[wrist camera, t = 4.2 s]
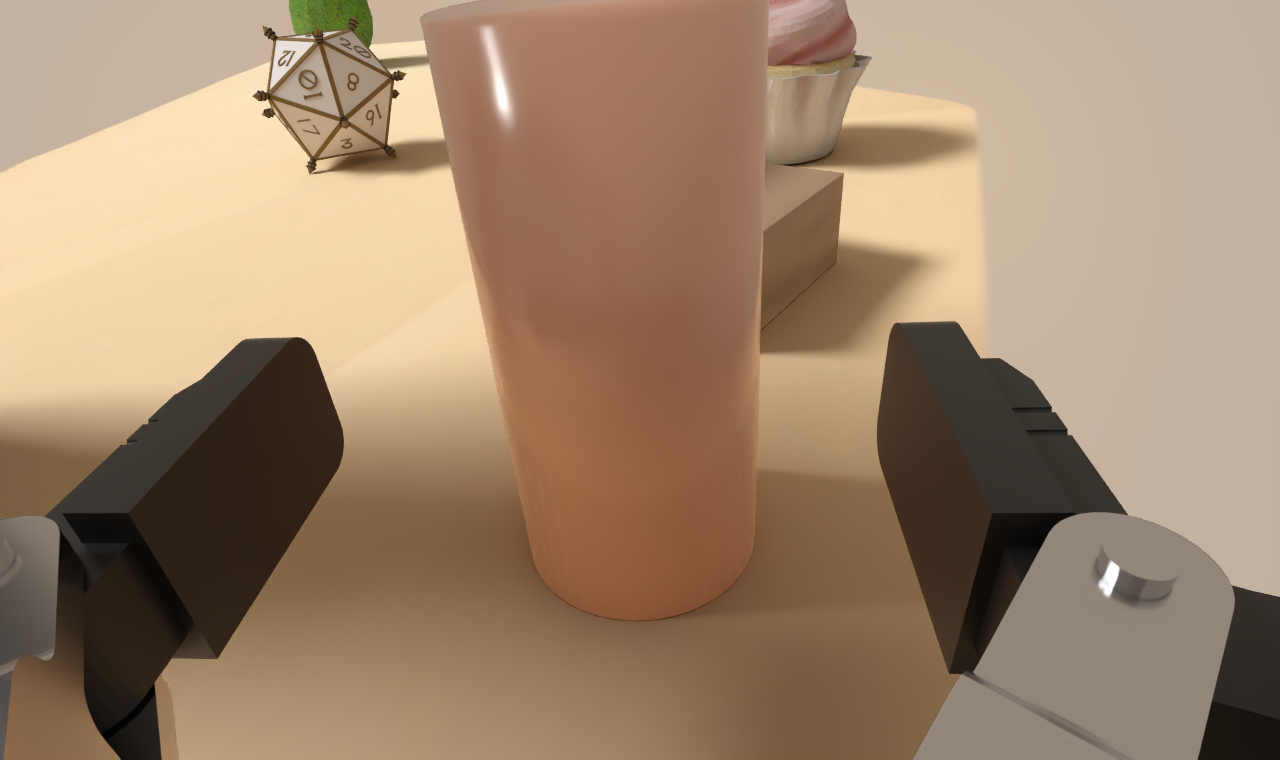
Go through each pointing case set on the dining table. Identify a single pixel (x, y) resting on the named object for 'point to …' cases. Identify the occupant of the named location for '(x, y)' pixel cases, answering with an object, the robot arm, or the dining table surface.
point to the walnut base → (797, 232)
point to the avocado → (331, 16)
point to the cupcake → (808, 78)
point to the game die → (330, 93)
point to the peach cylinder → (618, 277)
